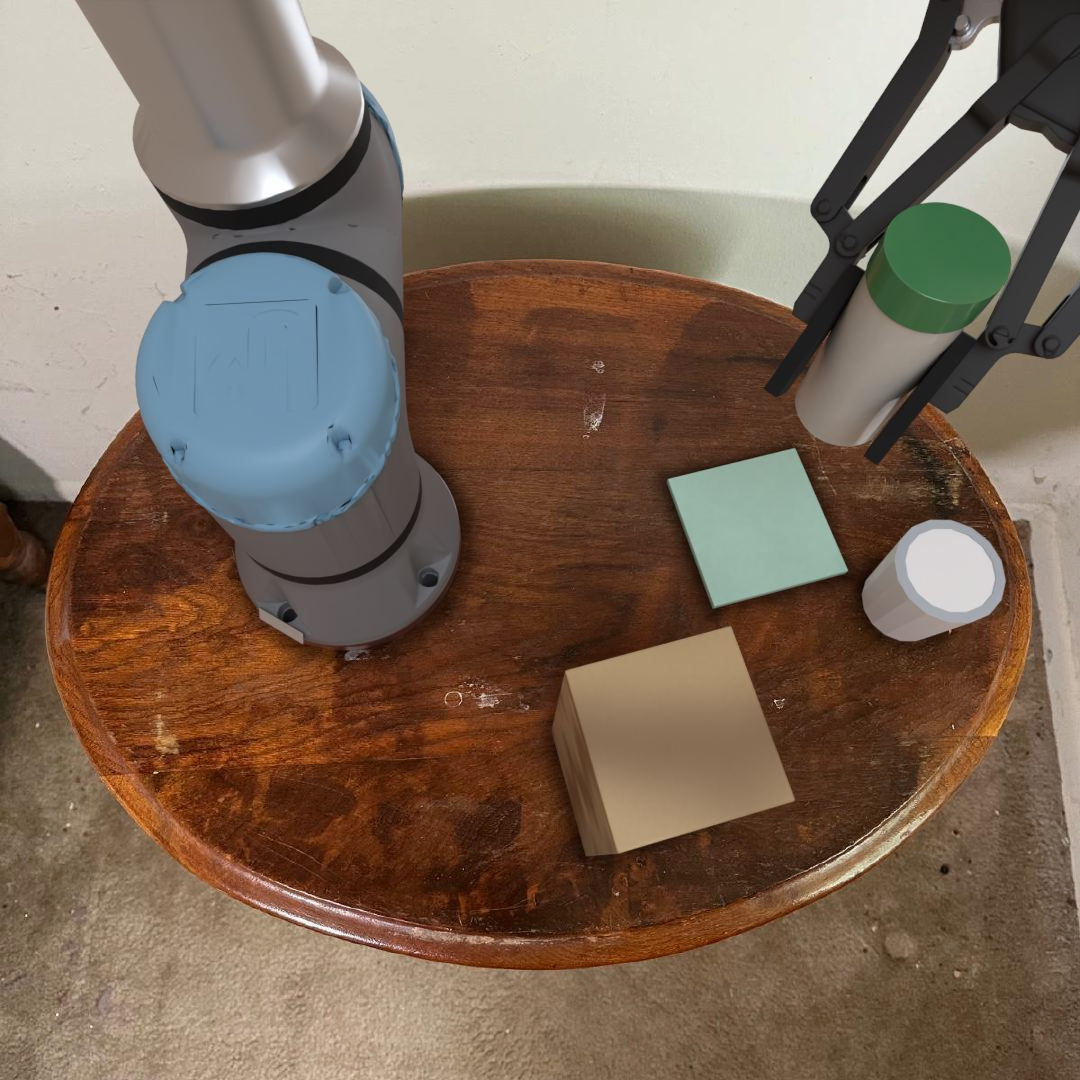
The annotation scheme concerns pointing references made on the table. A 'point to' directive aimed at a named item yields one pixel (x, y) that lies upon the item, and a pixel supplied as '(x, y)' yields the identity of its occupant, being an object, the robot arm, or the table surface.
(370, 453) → the robot arm
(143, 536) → the table surface
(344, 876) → the table surface
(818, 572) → the mat
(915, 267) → the cylinder
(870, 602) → the grey white cylinder
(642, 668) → the plinth
